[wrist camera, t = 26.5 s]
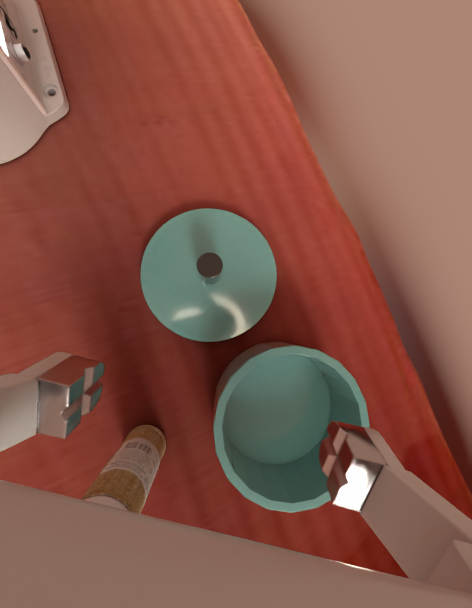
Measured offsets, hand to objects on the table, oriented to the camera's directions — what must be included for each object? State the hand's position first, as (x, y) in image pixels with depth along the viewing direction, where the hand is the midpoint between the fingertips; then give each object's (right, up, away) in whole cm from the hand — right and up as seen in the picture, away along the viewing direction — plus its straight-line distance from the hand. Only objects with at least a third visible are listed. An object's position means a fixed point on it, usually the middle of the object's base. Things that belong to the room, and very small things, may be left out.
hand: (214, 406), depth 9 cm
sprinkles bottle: (-9, -12, +18) cm, 24 cm away
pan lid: (-2, +7, +20) cm, 21 cm away
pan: (+5, -8, +20) cm, 22 cm away
